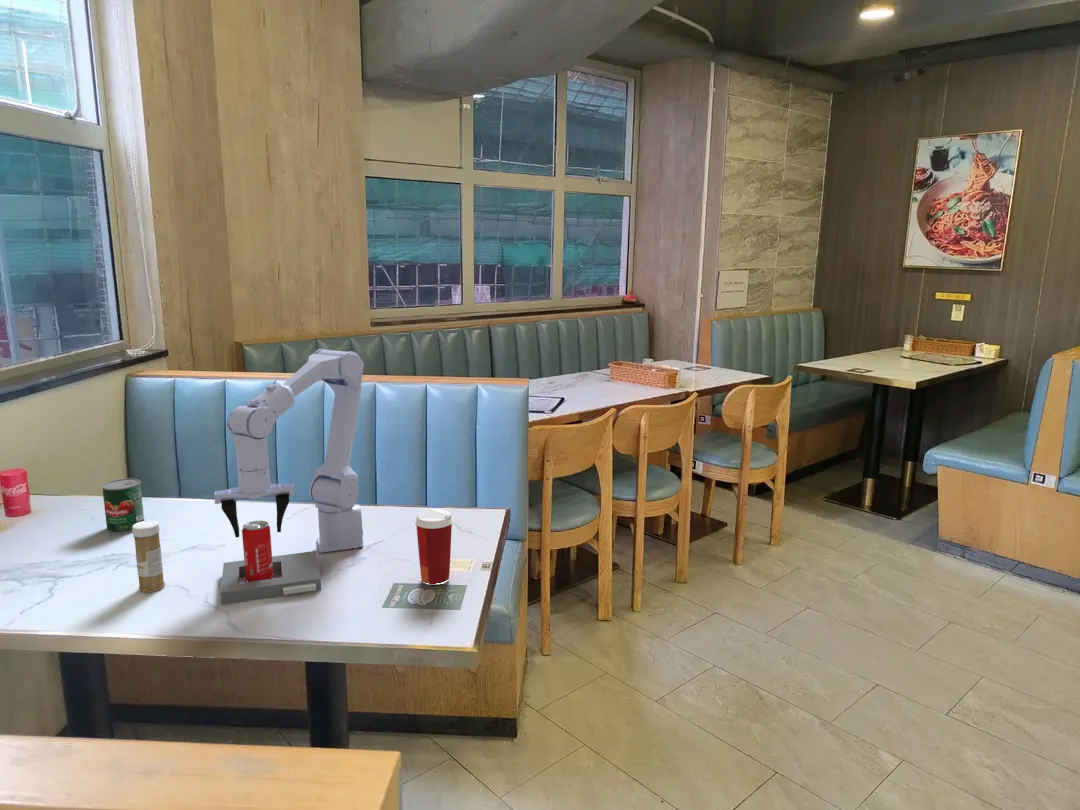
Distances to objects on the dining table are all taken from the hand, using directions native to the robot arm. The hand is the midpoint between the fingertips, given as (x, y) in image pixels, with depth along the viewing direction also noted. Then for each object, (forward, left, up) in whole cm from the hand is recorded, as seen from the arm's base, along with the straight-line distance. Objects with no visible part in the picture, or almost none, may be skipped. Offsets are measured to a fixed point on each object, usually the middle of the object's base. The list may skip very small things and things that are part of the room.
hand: (258, 533), depth 143 cm
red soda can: (0, 0, -11) cm, 11 cm away
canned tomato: (+30, -41, -11) cm, 52 cm away
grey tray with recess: (-2, +1, -10) cm, 11 cm away
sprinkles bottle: (+20, -4, -11) cm, 23 cm away
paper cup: (-33, +11, -11) cm, 36 cm away
